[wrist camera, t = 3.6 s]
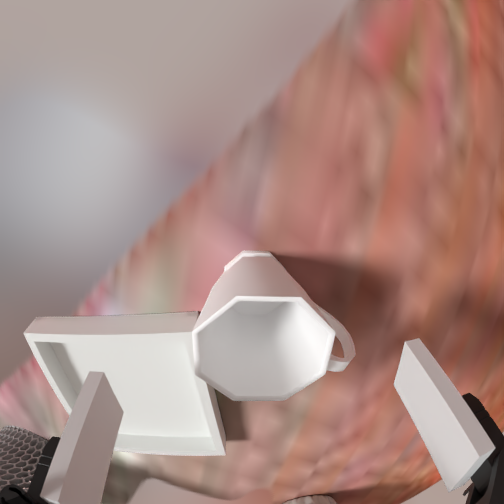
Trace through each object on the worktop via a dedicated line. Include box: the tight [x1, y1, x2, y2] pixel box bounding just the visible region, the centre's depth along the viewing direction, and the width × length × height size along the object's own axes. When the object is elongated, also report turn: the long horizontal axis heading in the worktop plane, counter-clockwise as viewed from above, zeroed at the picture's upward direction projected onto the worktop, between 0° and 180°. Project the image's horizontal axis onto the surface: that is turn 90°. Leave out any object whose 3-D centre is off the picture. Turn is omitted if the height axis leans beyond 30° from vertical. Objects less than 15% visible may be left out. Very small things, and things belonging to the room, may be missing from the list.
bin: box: [24, 311, 226, 456], centre depth 24 cm, size 16×15×2 cm
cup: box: [192, 250, 356, 401], centre depth 18 cm, size 7×10×8 cm
